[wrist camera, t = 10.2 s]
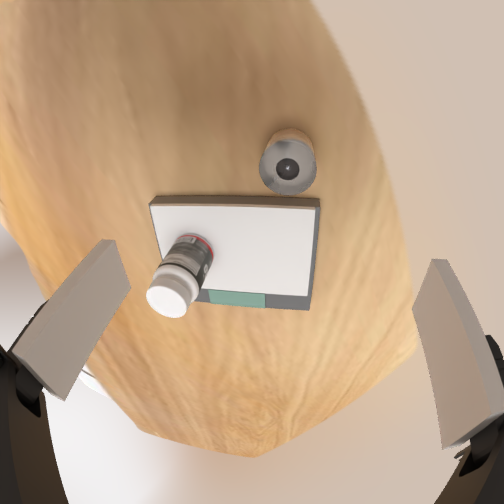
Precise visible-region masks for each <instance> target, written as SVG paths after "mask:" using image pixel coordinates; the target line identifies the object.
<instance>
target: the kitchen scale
mask: <svg viewBox="0 0 504 504" xmlns="http://www.w3.org/2000/svg"><path fill="white" fill-rule="evenodd" d="M149 209H150V213H151V218H152V222H153V226H154V230H155V234H156V238H157V242H158V246H159V250H160V254H161V258H162V261H163V259H164V258H165V256H166V255H167V253H168V252H169V250H170V249H171V247H172V246H173V244H174V242H175V241H176V240H177V239H178V238H179V237H180V236H182V235H185V234H195V235H198V236H200V237H202V238H204V239H205V240H206V241H207V242H208V243H209V244H210V245H211V247H212V249H213V252H214V259H213V262H212V265H211V267H210V269H209V271H208V274H207V276H206V278H205V281H204V283H203V285H202V287H201V290H200V292H199V294H198V296H197V298H196V299H195V300H194V301H199V302H208V303H212V304H222V305H232V306H243V307H255V308H277V309H292V310H309V309H310V302H311V294H312V286H313V277H314V269H315V259H316V250H317V239H318V228H319V217H320V202H319V199H311V198H290V197H262V196H156V197H155V198H154V199H153V200H152V201H151V202H150V203H149Z"/></svg>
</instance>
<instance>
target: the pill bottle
mask: <svg viewBox="0 0 504 504" xmlns="http://www.w3.org/2000/svg"><path fill="white" fill-rule="evenodd" d="M213 259H214V252H213V249H212V247H211V245H210V244H209V243H208V242H207V241H206V240H205V239H204V238H202V237H200V236H198V235H195V234H185V235H182V236H180V237H179V238H178V239H177V240H176V241H175V242H174V244H173V246H172V247H171V249H170V250H169V252H168V253H167V255H166V256H165V258H164V259H163V261H162V262H161V264H160V265H159V267H158V268H157V270H156V271H155V273H154V275H153V282H152V283H151V285H150V287H149V289H148V291H147V294H146V297H147V301H148V303H149V304H150V306H151V307H152V308H153V309H154V310H155V311H157V312H158V313H160V314H162V315H164V316H167V317H172V318H177V317H181V316H183V315H184V314H185V313H186V311H187V309H188V307H189V305H190V303H192V302H193V301H194V300H195V299H196V298H197V296H198V294H199V292H200V290H201V287H202V285H203V283H204V281H205V278H206V276H207V274H208V271H209V269H210V267H211V265H212V262H213Z"/></svg>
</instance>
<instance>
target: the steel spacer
mask: <svg viewBox="0 0 504 504" xmlns="http://www.w3.org/2000/svg"><path fill="white" fill-rule="evenodd" d="M316 171H317V169H316V161H315V155H314V150H313V145H312V142H311V140H310V139H309V137H308V136H307V135H306V134H305V133H303V132H302V131H300V130H297V129H293V128H287V129H282V130H280V131H278V132H276V133H275V134H274V135H273V136H272V137H271V139H270V141H269V143H268V145H267V147H266V149H265V151H264V153H263V155H262V157H261V160H260V164H259V172H260V176H261V178H262V180H263V182H264V183H265V185H266V186H267V187H268V188H269V189H271V190H272V191H274V192H276V193H278V194H282V195H296V194H299V193H302V192H303V191H305V190H306V189H308V188H309V187H310V186H311V184H312V183H313V181H314V179H315V176H316Z"/></svg>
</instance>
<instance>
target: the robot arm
mask: <svg viewBox="0 0 504 504" xmlns="http://www.w3.org/2000/svg"><path fill="white" fill-rule="evenodd" d="M130 289H131V286H130V283H129V280H128V277H127V275H126V272H125V269H124V266H123V263H122V261H121V258H120V255H119V252H118V249H117V246H116V243H115V240H104V239H102V240H101V241H100V242H99V243H98V244H97V245H96V246H95V247H94V248H93V249H92V250H91V251H90V253H89V254H88V255H87V256H86V257H85V258H84V259H83V260H82V261H81V262H80V264H79V265H78V266H77V267H76V268H75V269H74V270H73V272H72V273H71V274H70V275H69V276H68V277H67V278H66V280H65V281H64V282H63V283H62V284H61V286H60V287H59V288H58V289H57V290H56V292H55V293H54V294H53V295H52V297H51V298H50V299H49V300H48V301H46V302H45V303H44V304H43V305H41V306H40V308H39V309H38V310H37V311H36V313H35V314H34V317H32V318H31V319H30V321H29V323H28V324H27V325H26V326H25V327H24V329H23V330H22V332H21V333H20V334H19V336H18V337H17V339H16V340H15V342H14V343H13V344H12V346H11V347H10V349H9V350H8V351H7V352H6V351H5V350H4V349H3V347H2V346H1V345H0V504H69V503H68V500H67V497H66V495H65V491H64V488H63V484H62V481H61V477H60V474H59V470H58V466H57V462H56V459H55V454H54V449H53V445H52V440H51V435H50V429H49V423H48V416H47V409H46V401H45V396H44V393H43V392H42V389H43V387H44V388H46V390H48V392H49V393H50V394H52V395H53V396H55V397H57V398H59V399H61V400H63V401H65V400H66V398H67V396H68V394H69V392H70V390H71V388H72V386H73V384H74V383H75V381H76V379H77V377H78V375H79V373H80V372H81V370H82V368H83V366H84V364H85V363H86V361H87V359H88V357H89V356H90V354H91V352H92V350H93V349H94V347H95V345H96V344H97V342H98V340H99V338H100V337H101V335H102V333H103V332H104V330H105V329H106V327H107V325H108V324H109V322H110V320H111V319H112V317H113V316H114V314H115V312H116V311H117V309H118V308H119V306H120V305H121V303H122V301H123V300H124V298H125V297H126V295H127V294H128V292H129V291H130ZM412 311H413V314H414V318H415V321H416V324H417V328H418V331H419V335H420V338H421V342H422V345H423V349H424V353H425V357H426V361H427V365H428V369H429V374H430V378H431V383H432V387H433V392H434V397H435V403H436V408H437V414H438V421H439V427H440V434H441V443H442V450H444V449H448V448H453V447H457V446H460V445H462V444H463V443H465V442H466V441H467V440H469V439H470V443H471V445H469V446H468V447H466V448H465V449H464V450H462V451H460V452H458V453H457V454H456V456H455V457H454V458H455V459H457V458H458V457H460V456H462V455H463V454H464V455H463V457H462V458H461V459H460V460H459V461H460V462H459V464H458V466H457V468H456V469H455V471H454V473H453V475H452V476H451V478H450V480H449V482H448V483H447V485H446V486H445V488H444V490H443V491H442V493H441V494H440V496H439V497H438V499H437V500H436V502H435V503H434V504H504V360H503V356H502V353H501V351H500V348H499V346H498V344H497V343H496V342H495V340H494V339H493V338H492V337H491V335H484V332H483V330H482V328H481V326H480V323H479V321H478V319H477V316H476V314H475V312H474V310H473V308H472V306H471V304H470V302H469V300H468V298H467V296H466V294H465V292H464V290H463V288H462V286H461V284H460V282H459V280H458V278H457V277H456V275H455V273H454V271H453V269H452V268H451V266H450V264H449V262H448V261H447V260H444V259H432V260H431V262H430V265H429V268H428V271H427V274H426V276H425V278H424V281H423V284H422V286H421V289H420V291H419V294H418V296H417V298H416V300H415V303H414V305H413V307H412Z"/></svg>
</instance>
